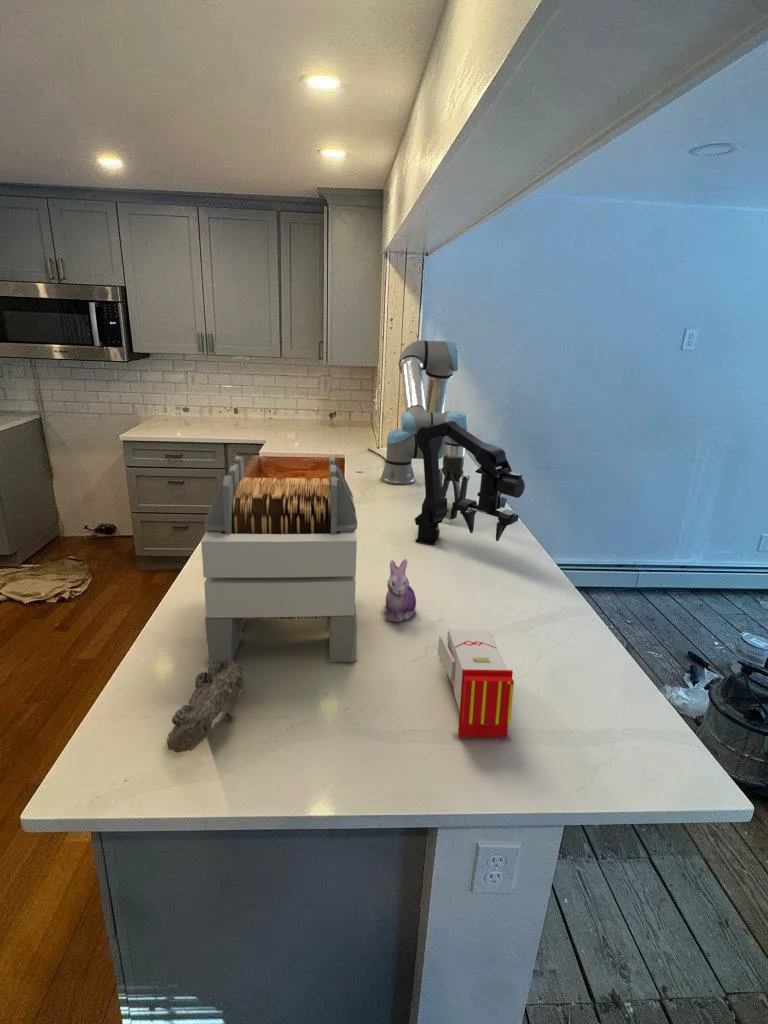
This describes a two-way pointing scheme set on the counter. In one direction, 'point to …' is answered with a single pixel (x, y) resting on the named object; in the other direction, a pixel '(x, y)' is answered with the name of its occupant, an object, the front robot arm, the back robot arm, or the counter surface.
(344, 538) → the record storage crate
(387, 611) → the figurine
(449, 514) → the block
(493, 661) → the toy
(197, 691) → the fossil
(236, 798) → the counter surface
